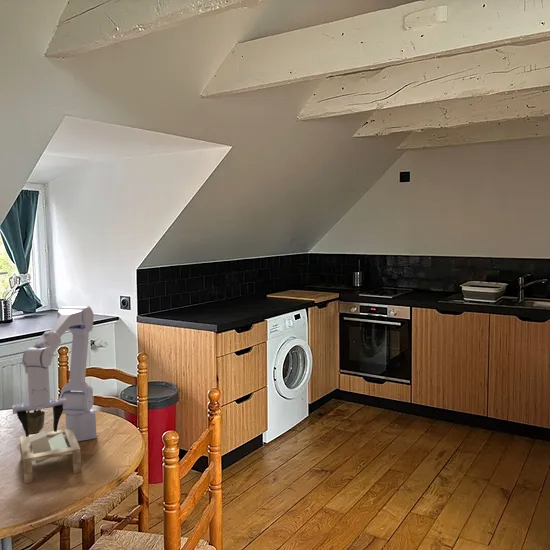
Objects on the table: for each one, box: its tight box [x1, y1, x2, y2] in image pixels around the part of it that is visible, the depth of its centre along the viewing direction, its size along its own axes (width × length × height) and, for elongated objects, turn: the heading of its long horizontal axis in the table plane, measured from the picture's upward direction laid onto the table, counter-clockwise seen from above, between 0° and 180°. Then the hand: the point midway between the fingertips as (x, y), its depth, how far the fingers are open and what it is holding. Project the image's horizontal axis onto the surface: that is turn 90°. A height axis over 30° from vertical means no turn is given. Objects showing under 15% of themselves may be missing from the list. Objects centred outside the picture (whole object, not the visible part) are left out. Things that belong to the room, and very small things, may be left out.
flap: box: [32, 433, 70, 465], centre depth 169 cm, size 10×12×3 cm
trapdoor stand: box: [19, 428, 82, 484], centre depth 168 cm, size 15×18×7 cm
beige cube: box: [29, 430, 51, 454], centre depth 167 cm, size 4×4×4 cm
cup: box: [21, 409, 46, 435], centre depth 190 cm, size 8×7×8 cm
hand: (41, 433), depth 167 cm, fingers open, 7 cm apart
